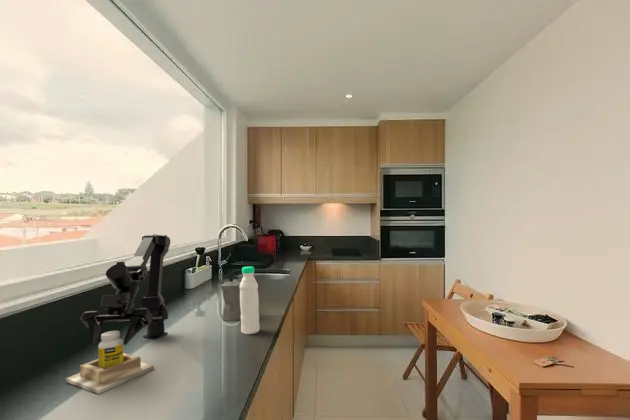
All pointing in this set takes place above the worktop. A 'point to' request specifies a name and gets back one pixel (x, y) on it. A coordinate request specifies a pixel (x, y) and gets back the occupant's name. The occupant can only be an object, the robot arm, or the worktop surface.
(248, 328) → the water bottle
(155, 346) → the worktop surface
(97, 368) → the socket
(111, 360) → the pill bottle
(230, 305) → the coffeepot
